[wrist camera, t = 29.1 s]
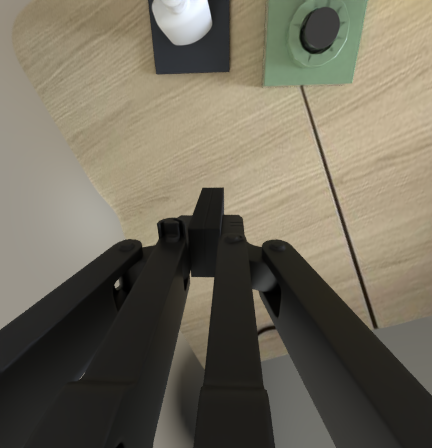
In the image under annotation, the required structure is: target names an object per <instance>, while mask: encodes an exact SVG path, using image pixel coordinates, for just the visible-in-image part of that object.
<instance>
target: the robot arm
mask: <svg viewBox="0 0 432 448" xmlns="http://www.w3.org/2000/svg"><path fill="white" fill-rule="evenodd" d="M157 227H158V234H159V240H158V242H157V244H156V245H154V246H149V247H142V243H141V242H140V241H138V240H131V239H128V240H123V241H121V242H118V243H117V244H115V245H113V246H112V247H111V248H109V249H108V250H107V251H105V252H104V253H103V254H101V255H100V256H99V257H97V258H96V259H95V260H94V261H92V262H91V263H89V264H88V265H87V266H85V267H84V268H83V269H81V270H80V271H79V272H77V273H76V274H75V275H73V276H72V277H71V278H69V279H68V280H66V281H65V282H64V283H62V284H61V285H60V286H58V287H57V288H56V289H54V290H53V291H52V292H50V293H49V294H48V295H46V296H45V297H44V298H42V299H41V300H40V301H38V302H37V303H36V304H34V305H33V306H32V307H30V308H29V309H28V310H26V311H25V312H24V313H22V314H21V315H20V316H18V317H17V318H16V319H14V320H13V321H11V322H10V323H9V324H8V325H6V326H5V327H3V328H2V329H1V330H0V448H153V442H154V437H155V432H156V428H157V423H158V419H159V415H160V411H161V407H162V402H163V398H164V394H165V389H166V385H167V381H168V376H169V372H170V368H171V363H172V359H173V355H174V350H175V346H176V342H177V337H178V333H179V329H180V325H181V320H182V316H183V312H184V307H185V303H186V299H187V294H188V290H189V286H190V276H189V274H190V270H191V277H214V287H213V297H212V307H211V317H210V326H209V336H208V346H207V356H206V365H205V375H204V383H203V386H202V387H201V390H200V396H199V403H198V412H197V421H196V430H195V438H194V447H193V448H275V443H274V436H273V429H272V428H273V427H272V420H271V412H270V405H269V398H268V394H267V390H265V389H264V386H263V379H262V369H261V361H260V352H259V343H258V335H257V326H256V318H255V309H254V300H253V292H252V289H255V290H258V291H259V295H260V297H261V299H262V301H263V303H264V305H265V307H266V309H267V311H268V313H269V315H270V317H271V319H272V321H273V323H274V325H275V327H276V329H277V331H278V333H279V335H280V337H281V339H282V341H283V343H284V345H285V347H286V349H287V351H288V353H289V355H290V357H291V359H292V361H293V363H294V365H295V367H296V369H297V371H298V373H299V375H300V376H301V379H302V381H303V383H304V385H305V387H306V389H307V390H308V392H309V394H310V396H311V398H312V400H313V402H314V404H315V406H316V408H317V410H318V412H319V414H320V416H321V418H322V420H323V422H324V424H325V426H326V428H327V430H328V432H329V434H330V436H331V438H332V440H333V442H334V444H335V446H336V448H432V395H431V394H430V393H429V392H428V391H427V390H426V389H425V388H424V387H423V386H422V385H421V384H420V383H419V382H418V381H417V379H416V378H415V377H414V376H413V375H412V374H411V373H410V372H409V371H408V370H407V369H406V368H405V367H404V366H403V364H401V362H400V361H399V360H398V359H397V358H396V357H395V356H394V355H393V354H392V353H391V352H390V350H389V349H388V348H387V347H386V346H385V345H384V344H383V343H382V342H381V341H380V340H379V339H378V338H377V337H376V335H374V333H373V332H372V331H371V330H370V329H369V328H368V327H367V326H366V325H365V324H364V323H363V322H362V320H361V319H360V318H359V317H358V316H357V315H356V314H355V313H354V312H353V311H352V310H351V309H350V308H349V307H348V305H347V304H346V303H345V302H344V301H343V300H342V299H341V298H340V297H339V296H338V295H337V294H336V293H335V292H334V290H333V289H332V288H331V287H330V286H329V285H328V284H327V283H326V282H325V281H324V280H323V279H322V278H321V277H320V275H319V274H318V273H317V272H316V271H315V270H314V269H313V268H312V267H311V266H310V265H309V264H308V263H307V262H306V260H305V259H304V258H303V257H302V256H301V255H300V254H299V253H298V252H297V251H296V250H295V249H294V248H293V247H292V245H290V244H289V243H287V242H285V241H282V240H277V239H276V240H269V241H266V242H264V243H263V245H262V247H258V246H254V245H252V244H249V243H248V242H247V240H246V237H245V235H244V226H243V218H242V217H241V216H239V215H224V188H202V191H201V194H200V196H199V199H198V202H197V205H196V207H195V210H194V213H193V215H192V216H187V215H181V216H179V217H178V218H166V219H163V220H161V221H159V222H158V223H157ZM118 279H119V283H120V285H119V287H117V288H115V286H114V284H115V282H116V281H117V280H118ZM85 371H86V372H85ZM84 373H85V374H84ZM83 374H84V375H83ZM82 375H83V376H82ZM81 376H82V378H81ZM80 378H81V379H80ZM79 379H80V380H79Z"/></svg>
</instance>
